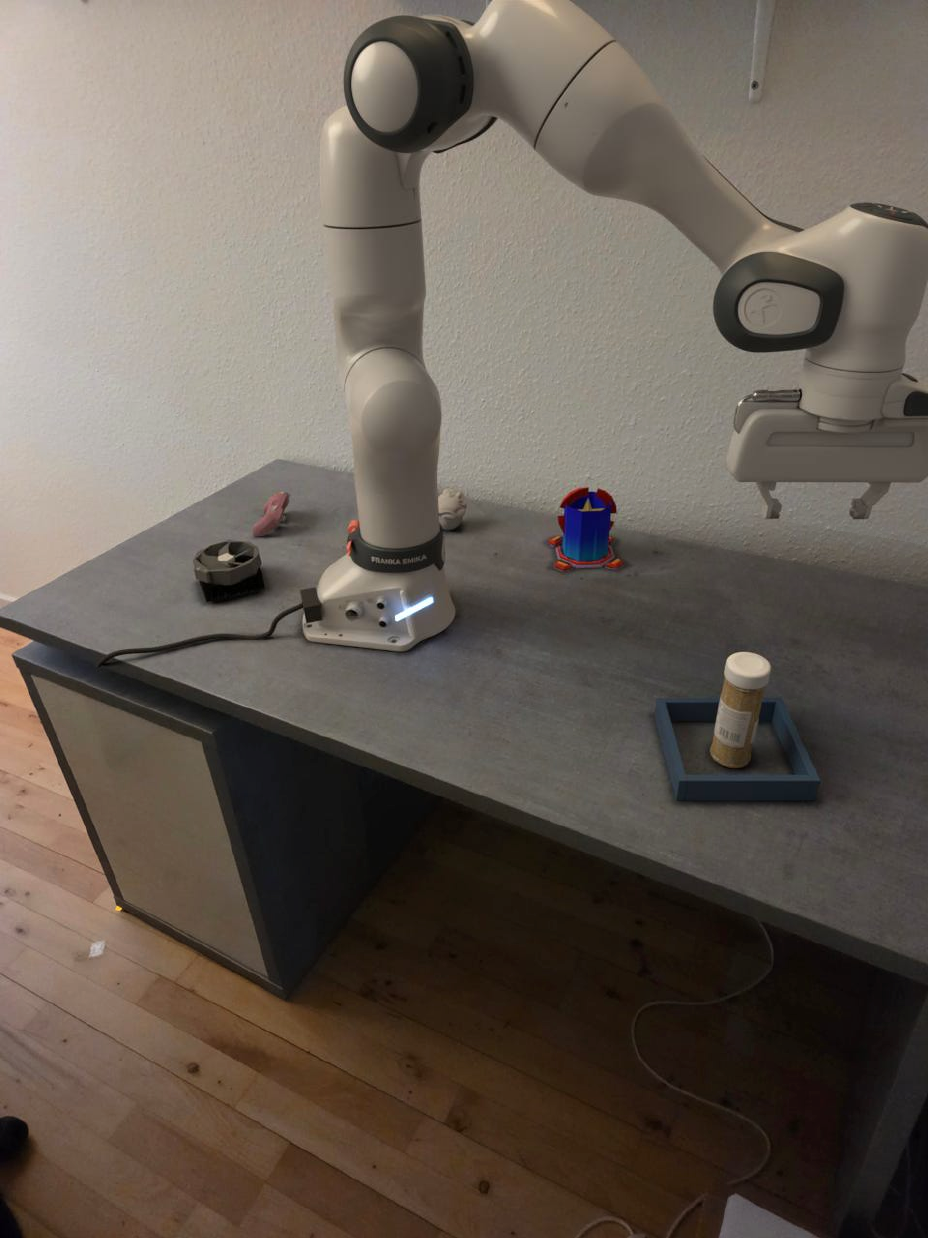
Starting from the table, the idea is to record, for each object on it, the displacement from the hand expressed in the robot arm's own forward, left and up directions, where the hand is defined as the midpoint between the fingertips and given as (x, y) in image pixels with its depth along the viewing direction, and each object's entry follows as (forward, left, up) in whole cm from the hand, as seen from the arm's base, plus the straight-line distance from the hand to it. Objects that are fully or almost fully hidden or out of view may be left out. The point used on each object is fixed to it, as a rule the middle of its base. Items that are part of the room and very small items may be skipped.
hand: (813, 516), depth 85 cm
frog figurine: (-43, +48, -25) cm, 69 cm away
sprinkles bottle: (-8, -10, -25) cm, 29 cm away
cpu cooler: (-77, +29, -25) cm, 86 cm away
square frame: (-8, -10, -25) cm, 28 cm away
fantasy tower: (-20, +38, -25) cm, 49 cm away
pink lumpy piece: (-75, +50, -25) cm, 93 cm away
